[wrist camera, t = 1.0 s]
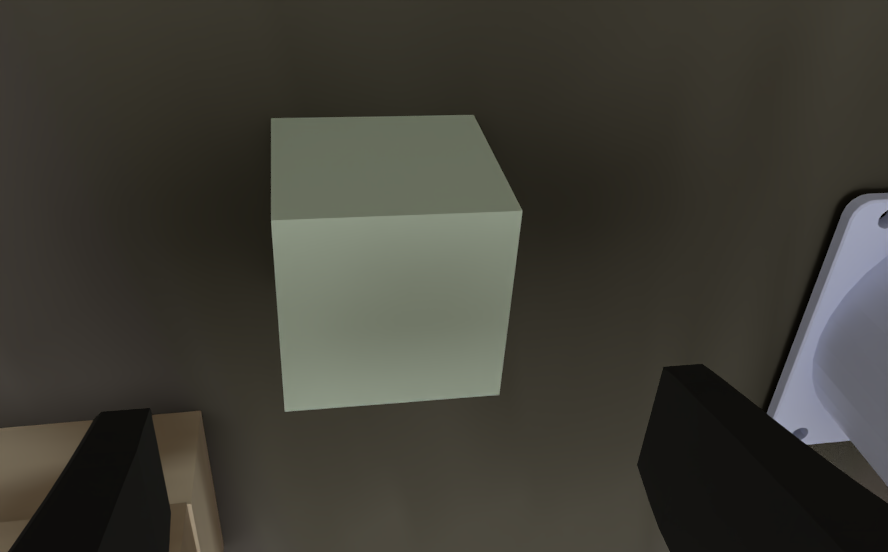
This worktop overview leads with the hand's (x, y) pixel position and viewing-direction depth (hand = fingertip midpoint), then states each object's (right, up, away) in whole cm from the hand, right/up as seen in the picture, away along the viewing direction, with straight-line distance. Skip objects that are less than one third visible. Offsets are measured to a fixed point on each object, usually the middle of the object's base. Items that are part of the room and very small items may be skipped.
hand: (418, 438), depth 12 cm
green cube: (-1, +4, +6) cm, 7 cm away
